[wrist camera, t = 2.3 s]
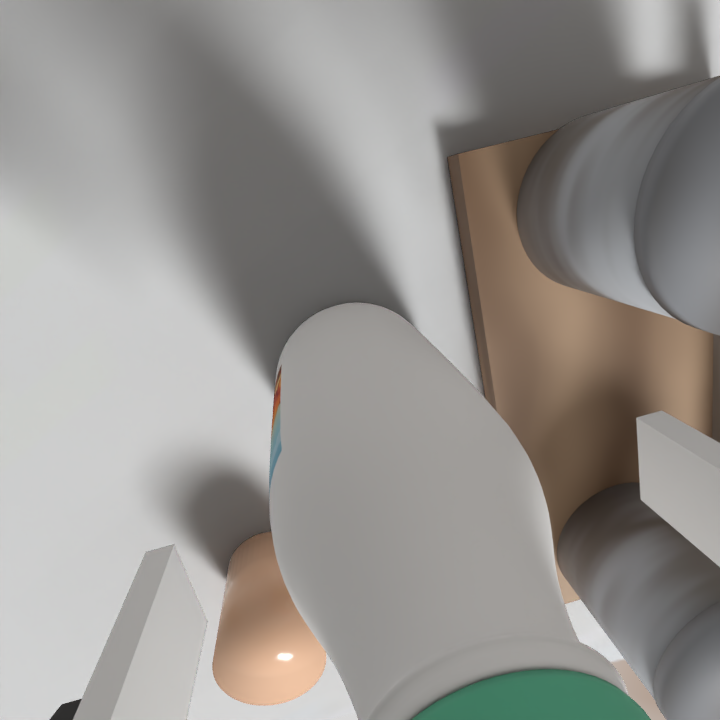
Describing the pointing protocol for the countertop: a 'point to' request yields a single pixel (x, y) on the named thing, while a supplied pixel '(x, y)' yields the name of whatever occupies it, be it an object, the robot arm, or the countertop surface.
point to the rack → (608, 354)
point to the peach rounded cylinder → (263, 632)
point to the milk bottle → (420, 534)
